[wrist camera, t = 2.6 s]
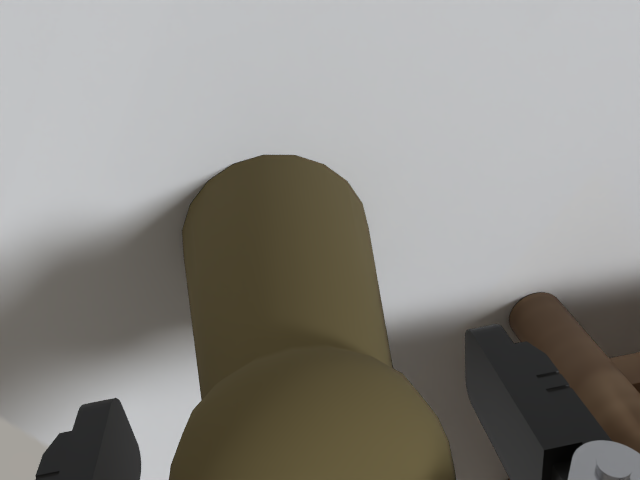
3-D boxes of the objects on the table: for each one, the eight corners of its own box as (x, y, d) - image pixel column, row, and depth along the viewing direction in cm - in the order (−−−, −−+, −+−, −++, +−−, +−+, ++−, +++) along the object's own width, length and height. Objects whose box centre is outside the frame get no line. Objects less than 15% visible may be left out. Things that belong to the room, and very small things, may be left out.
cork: (237, 343, 20) (244, 714, 11) (143, 206, 17) (39, 551, 8) (394, 273, 20) (546, 599, 10) (325, 120, 17) (449, 377, 7)
